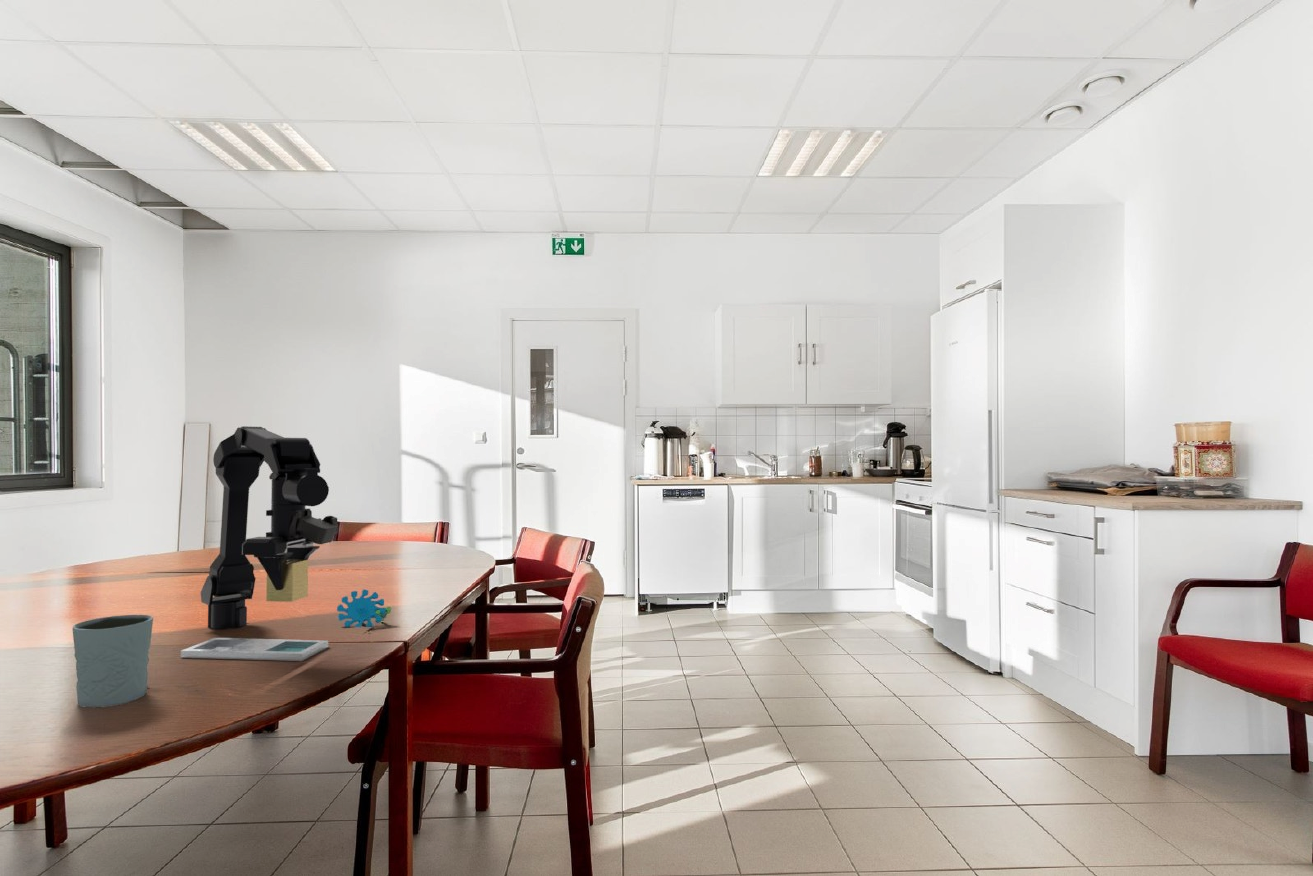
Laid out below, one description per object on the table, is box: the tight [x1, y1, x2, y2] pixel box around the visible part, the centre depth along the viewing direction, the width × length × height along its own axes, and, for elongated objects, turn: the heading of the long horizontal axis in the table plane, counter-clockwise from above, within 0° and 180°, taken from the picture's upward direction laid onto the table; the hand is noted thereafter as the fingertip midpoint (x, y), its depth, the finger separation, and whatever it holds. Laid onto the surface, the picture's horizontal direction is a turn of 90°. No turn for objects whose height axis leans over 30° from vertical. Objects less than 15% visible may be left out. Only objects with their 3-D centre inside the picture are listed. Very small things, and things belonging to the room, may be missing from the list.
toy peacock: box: [336, 588, 392, 628], centre depth 158 cm, size 11×6×10 cm
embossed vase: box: [72, 614, 154, 708], centre depth 111 cm, size 10×10×12 cm
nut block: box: [265, 559, 309, 603], centre depth 133 cm, size 5×5×7 cm
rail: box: [180, 637, 329, 662], centre depth 134 cm, size 23×9×2 cm, turn 86°
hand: (287, 587), depth 133 cm, fingers closed on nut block, 5 cm apart
